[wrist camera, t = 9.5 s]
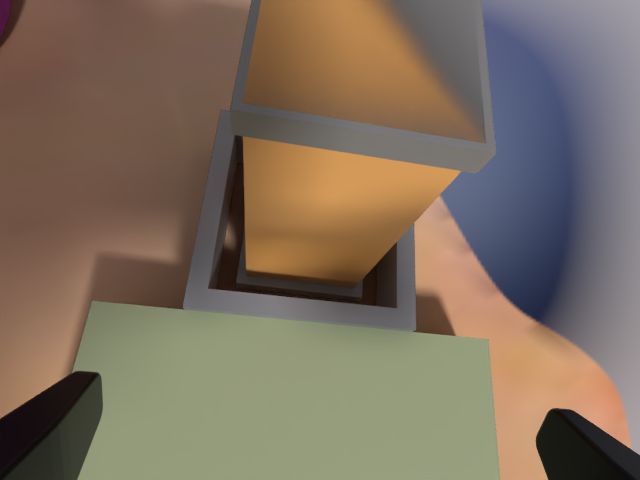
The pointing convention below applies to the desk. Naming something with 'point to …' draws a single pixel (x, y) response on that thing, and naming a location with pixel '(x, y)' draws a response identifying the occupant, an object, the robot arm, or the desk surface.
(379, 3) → the tan rectangular column
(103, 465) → the green slab with frame
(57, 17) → the desk surface
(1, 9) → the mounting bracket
